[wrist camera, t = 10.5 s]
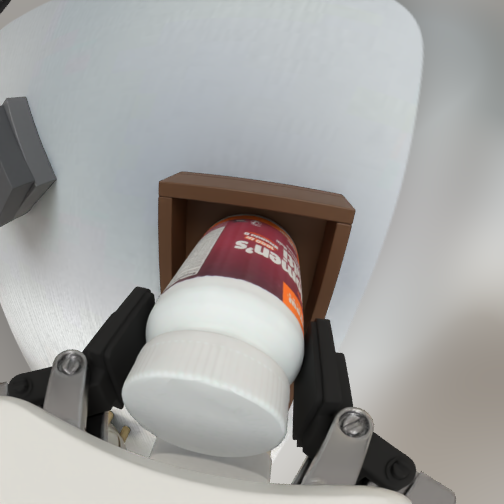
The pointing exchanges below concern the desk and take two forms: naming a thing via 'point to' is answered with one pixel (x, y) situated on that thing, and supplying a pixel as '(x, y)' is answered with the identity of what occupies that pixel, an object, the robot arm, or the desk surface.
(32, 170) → the grey books
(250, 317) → the pill bottle
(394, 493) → the robot arm
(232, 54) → the desk surface
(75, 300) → the desk surface
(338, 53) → the desk surface
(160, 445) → the white bottle
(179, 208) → the tray
